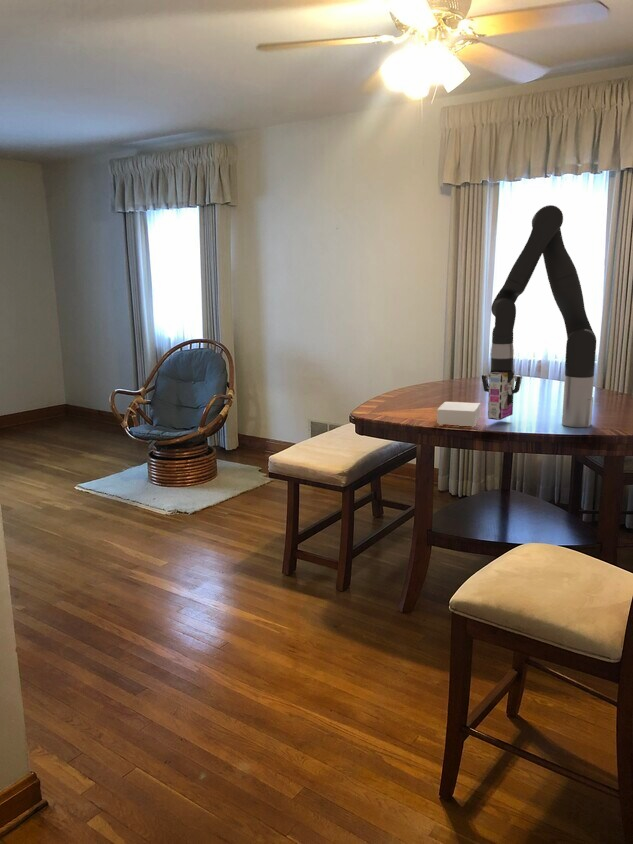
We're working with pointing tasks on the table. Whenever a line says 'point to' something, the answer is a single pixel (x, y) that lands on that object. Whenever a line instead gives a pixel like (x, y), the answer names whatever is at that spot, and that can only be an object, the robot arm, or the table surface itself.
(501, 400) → the candy bar box
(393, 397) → the table surface
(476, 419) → the white rectangular block
